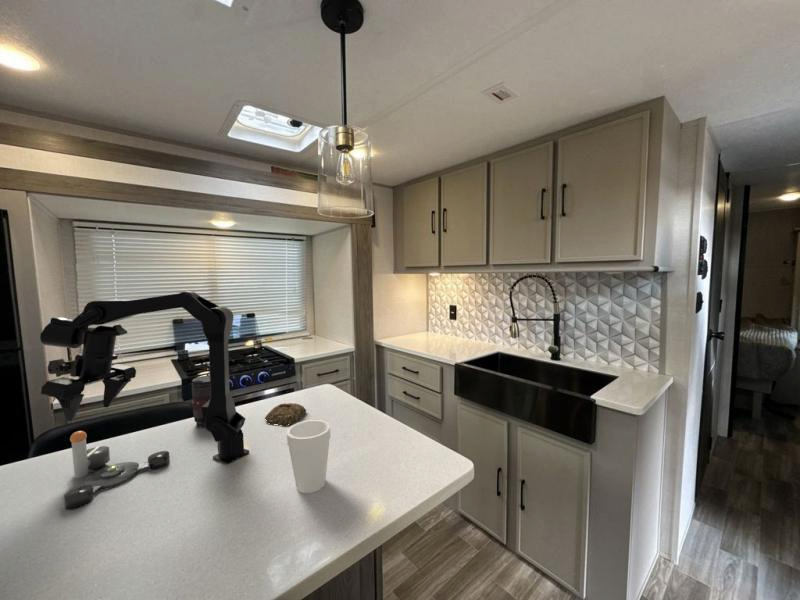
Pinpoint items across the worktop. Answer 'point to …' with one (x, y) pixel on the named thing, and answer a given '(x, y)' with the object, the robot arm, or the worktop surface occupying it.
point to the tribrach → (111, 478)
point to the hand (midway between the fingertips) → (88, 413)
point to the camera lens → (200, 397)
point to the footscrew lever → (87, 455)
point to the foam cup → (309, 453)
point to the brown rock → (285, 414)
